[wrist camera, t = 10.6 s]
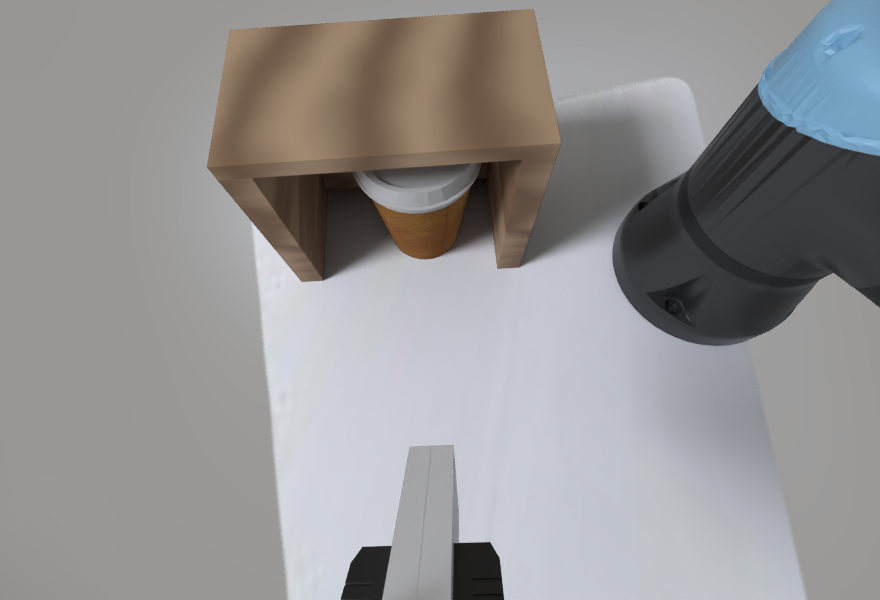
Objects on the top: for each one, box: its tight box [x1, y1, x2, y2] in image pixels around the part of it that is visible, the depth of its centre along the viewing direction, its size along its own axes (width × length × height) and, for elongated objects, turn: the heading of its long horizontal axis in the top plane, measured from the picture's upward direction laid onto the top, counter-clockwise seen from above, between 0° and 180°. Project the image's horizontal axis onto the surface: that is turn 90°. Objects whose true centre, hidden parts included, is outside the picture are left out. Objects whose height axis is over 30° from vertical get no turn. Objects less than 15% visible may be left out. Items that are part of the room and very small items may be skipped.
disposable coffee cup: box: [352, 163, 482, 259], centre depth 35 cm, size 10×10×12 cm
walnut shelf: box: [207, 9, 561, 282], centre depth 33 cm, size 20×11×16 cm, turn 94°
